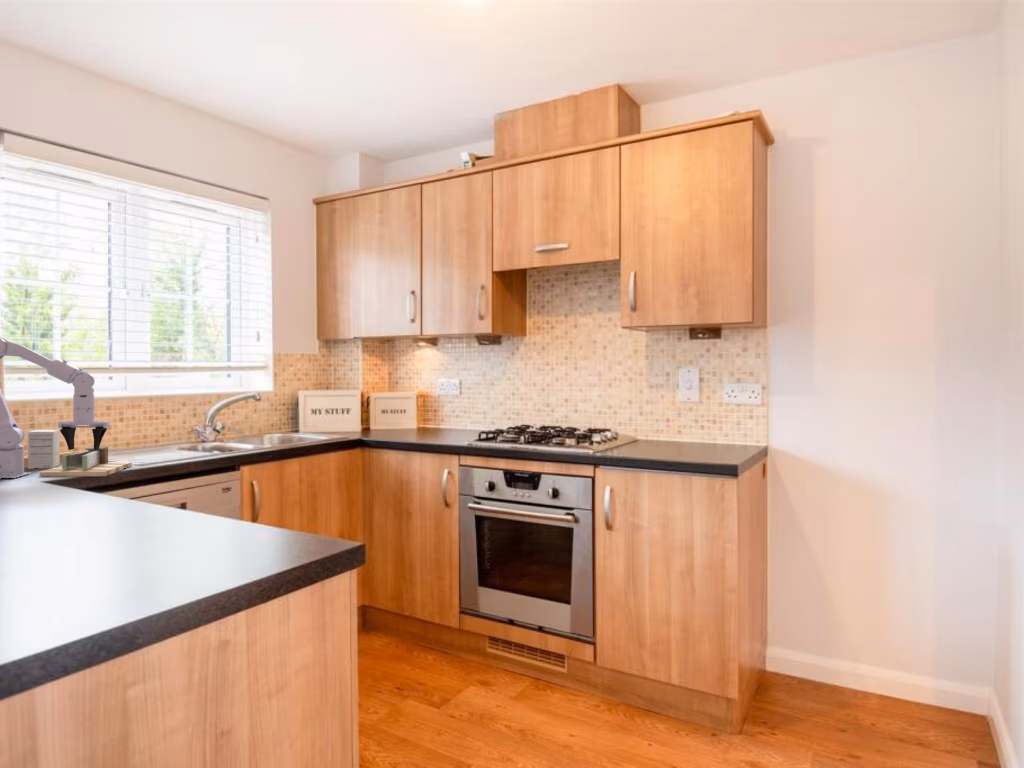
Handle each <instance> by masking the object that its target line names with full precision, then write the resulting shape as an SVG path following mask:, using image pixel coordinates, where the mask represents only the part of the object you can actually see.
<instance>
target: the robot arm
mask: <svg viewBox="0 0 1024 768" xmlns="http://www.w3.org/2000/svg"><path fill="white" fill-rule="evenodd" d="M6 356H9V357H20V358H21V359H23V360H26V361H28V362H30V363H33V364H34V365H37V366H40V367H42V368H44V369H46V372H47V375H49V376H51V377H53V378H55V379H57V380H59V381H62V382H63V383H66V384H67V385H68V384H72V386H73V387H74V388H73V390H74V391H73V393H74V394H73V396H72V397H73V399H72V400H73V403H72V405H73V406H72V408H73V412H72V413H73V420H72V421H68V420H67V421H58V422H57V427H58V428H59V433H61V435H62V437H64V440H65V443H66V445H67V449H68V451H72V450H75V437H76V436H75V435H76V434H75V433H76V431H77V430H76V429H77V428H87V429H88V428H90V429H91V428H92V429H91V431H92V437H93V447H94V450H98V449H99V447H101V443H102V440H103V438H104V435H105V433H106V432H107V431H108V428H110V421H98V420H96V421H95V394H94V393H95V389H94V385H95V377H94V375H92V374H91V373H90V372H89V371H83V370H84V368H82V367H79V368H78V367H77V366H74V365H72V364H70V363H69V361H68V360H66V359H59V358H58V359H54V360H52V359H50V358H48V357H46V356H44V355H43V354H40V353H39V352H36V351H34V350H32V349H30V348H28V347H27V346H24V345H23V344H20V343H17V342H14V341H11V340H7V339H5V338H3V337H0V360H1V359H2V358H4V357H6ZM24 438H25V432H24V430H23V429H22V428H21V427H20V426H18V424H17V422H16V420H15V419H14V418H13V416H12V414H11V410H10V409H9V407H8V404H7V401H6V399H5V397H4V395H3V392H2V389H1V388H0V480H2V479H1V478H14V479H17V478H19V477H20V476H21V477H24V476H27V474H28V475H31V472H29V471H28V472H27V471H26V472H25V445H23V443H22V442H23V441H24ZM16 477H17V478H16Z"/></svg>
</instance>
